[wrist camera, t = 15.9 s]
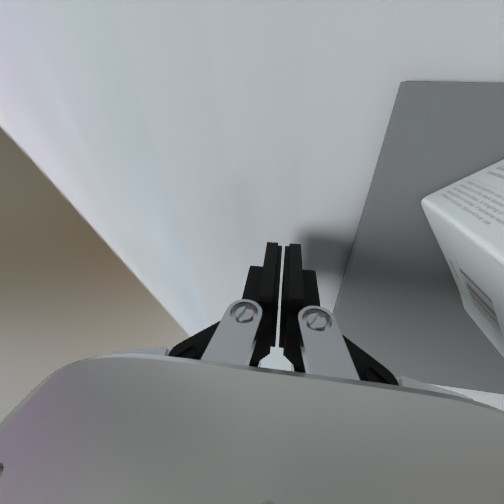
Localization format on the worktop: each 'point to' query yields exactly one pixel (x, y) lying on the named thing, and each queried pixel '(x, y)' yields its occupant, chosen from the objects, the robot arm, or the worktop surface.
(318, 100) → the worktop surface
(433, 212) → the small box
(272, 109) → the worktop surface
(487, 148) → the mat
